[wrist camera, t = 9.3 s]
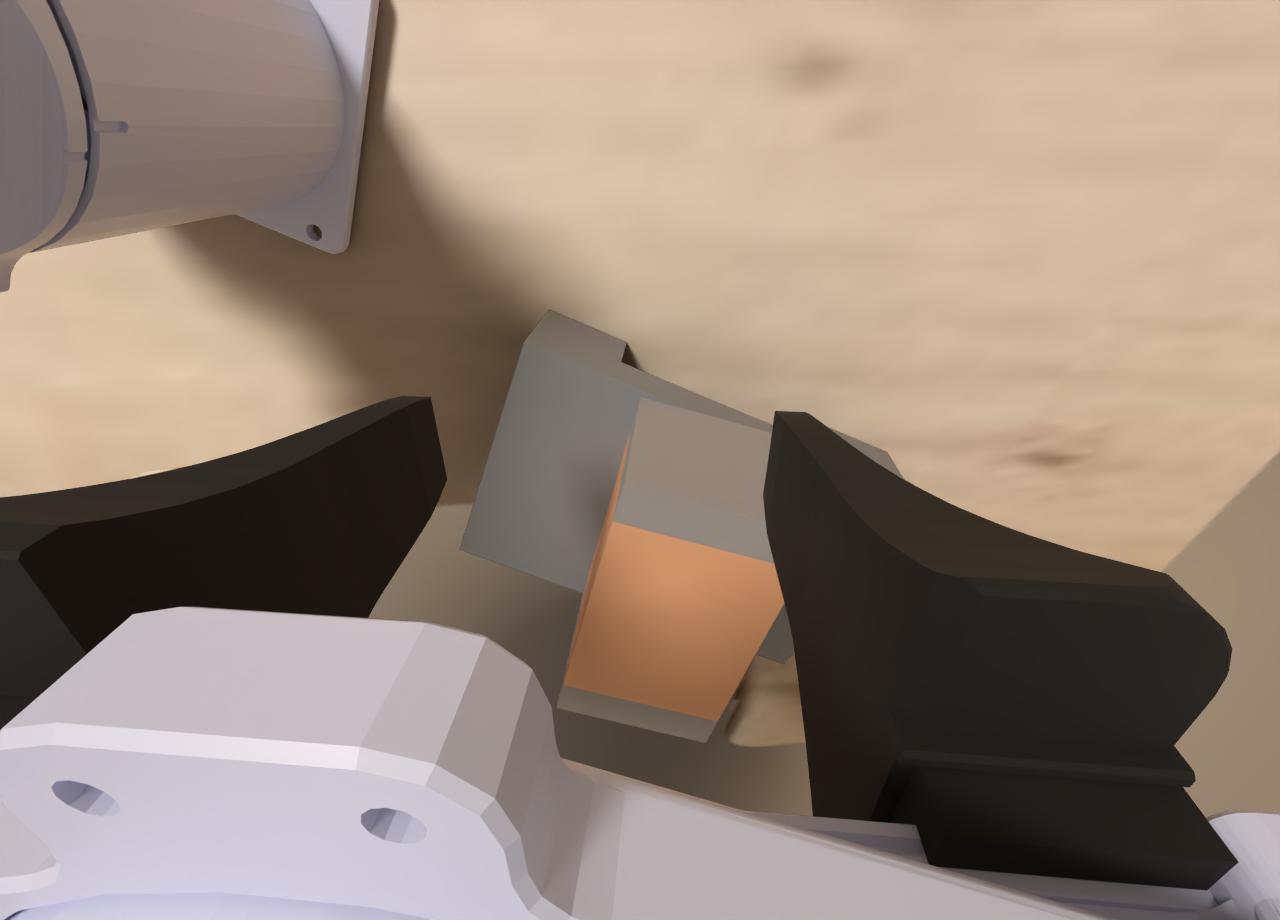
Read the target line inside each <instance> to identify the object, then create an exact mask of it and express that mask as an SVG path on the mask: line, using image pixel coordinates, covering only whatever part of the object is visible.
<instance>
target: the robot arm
mask: <svg viewBox="0 0 1280 920" xmlns="http://www.w3.org/2000/svg"><path fill="white" fill-rule="evenodd" d="M378 7H379V0H0V292H4V291H7V290H9V288H10V277H11V272H12V270H13V268H14V265H15V264H16V262H17V261H18V260H19V259H20V258H21V257H22V256H23V255H25V254H27V253H29V252H36V251H41V250H47V249H52V248H57V247H62V246H68V245H73V244H78V243H84V242H89V241H94V240H100V239H105V238H110V237H115V236H121V235H126V234H131V233H137V232H142V231H147V230H153V229H158V228H163V227H168V226H174V225H179V224H184V223H190V222H195V221H200V220H205V219H211V218H216V217H221V216H227V215H232V214H235V215H238V216H240V217H242V218H245V219H247V220H250V221H252V222H255V223H257V224H259V225H262V226H264V227H267V228H269V229H272V230H274V231H276V232H279V233H281V234H284V235H286V236H288V237H291V238H293V239H296V240H298V241H301V242H303V243H305V244H308V245H310V246H313V247H315V248H317V249H320V250H322V251H325V252H327V253H331V254H338V253H341V252H344V251H345V250H346V249H347V248H348V246H349V242H350V234H351V226H352V218H353V209H354V201H355V193H356V185H357V177H358V169H359V161H360V153H361V145H362V137H363V128H364V120H365V112H366V104H367V96H368V88H369V80H370V72H371V64H372V56H373V47H374V39H375V31H376V23H377V15H378ZM314 225H316V226H317V227H319V229H320V230H321V232H322V238H321V239H320V238H319V237H317V236H316V235H315V233H314V231H313V226H314ZM446 480H447V477H446V472H445V467H444V462H443V457H442V452H441V447H440V442H439V437H438V432H437V427H436V422H435V417H434V412H433V407H432V402H431V397H410V396H401V397H397V398H392V399H388V400H385V401H382V402H379V403H376V404H373V405H370V406H368V407H365V408H362V409H360V410H357V411H354V412H352V413H349V414H346V415H344V416H341V417H339V418H336V419H334V420H331V421H328V422H326V423H323V424H321V425H318V426H315V427H313V428H310V429H307V430H304V431H302V432H299V433H296V434H293V435H290V436H288V437H285V438H282V439H279V440H276V441H274V442H271V443H268V444H265V445H262V446H259V447H256V448H253V449H250V450H246V451H243V452H240V453H236V454H233V455H229V456H226V457H222V458H218V459H215V460H211V461H207V462H204V463H200V464H196V465H192V466H187V467H183V468H178V469H173V470H169V471H164V472H160V473H155V474H150V475H146V476H141V477H136V478H132V479H127V480H121V481H116V482H110V483H104V484H98V485H92V486H86V487H79V488H73V489H66V490H59V491H52V492H45V493H37V494H29V495H21V496H11V497H2V498H0V920H1280V812H1270V811H1257V810H1232V811H1231V810H1230V811H1225V812H1221V813H1218V814H1215V815H1211V816H1209V817H1208V818H1205V817H1204V815H1203V814H1202V812H1201V811H1200V810H1199V809H1198V807H1197V806H1196V804H1195V803H1194V802H1193V800H1192V799H1191V798H1190V796H1189V795H1188V794H1187V792H1186V791H1185V790H1184V788H1183V787H1190V786H1191V785H1192V784H1193V783H1194V782H1195V781H1196V780H1195V774H1194V771H1193V770H1192V768H1191V767H1190V766H1189V765H1188V763H1187V762H1186V761H1185V760H1184V758H1183V757H1182V756H1181V754H1180V753H1179V752H1178V750H1177V749H1176V748H1175V747H1174V745H1175V744H1176V742H1177V741H1178V740H1179V739H1180V737H1181V736H1182V735H1183V734H1184V733H1185V731H1186V730H1187V729H1188V728H1189V726H1190V725H1191V724H1192V723H1193V722H1194V721H1195V719H1196V718H1197V717H1198V716H1199V714H1200V713H1201V712H1202V711H1203V710H1204V708H1205V707H1206V706H1207V705H1208V704H1209V702H1210V701H1211V700H1212V699H1213V698H1214V696H1215V695H1216V693H1217V692H1218V690H1219V688H1220V687H1221V685H1222V683H1223V682H1224V680H1225V678H1226V677H1227V674H1228V671H1229V666H1230V660H1231V653H1232V647H1231V645H1230V642H1229V639H1228V636H1227V633H1226V631H1225V629H1224V628H1223V627H1222V626H1221V625H1220V624H1219V623H1218V622H1217V621H1216V620H1215V619H1214V618H1213V617H1212V616H1211V615H1210V614H1209V613H1208V612H1206V610H1205V609H1204V608H1202V607H1201V606H1200V605H1199V604H1198V603H1197V602H1196V601H1195V600H1194V599H1193V598H1192V597H1191V596H1190V595H1189V594H1188V593H1187V592H1186V591H1185V590H1183V588H1182V587H1181V586H1180V585H1178V583H1176V582H1175V580H1173V579H1172V578H1171V577H1170V576H1169V575H1167V574H1165V573H1161V572H1157V571H1154V570H1150V569H1146V568H1142V567H1138V566H1134V565H1130V564H1126V563H1123V562H1119V561H1115V560H1111V559H1107V558H1103V557H1099V556H1095V555H1092V554H1088V553H1084V552H1080V551H1077V550H1073V549H1070V548H1067V547H1064V546H1061V545H1058V544H1055V543H1051V542H1048V541H1045V540H1042V539H1039V538H1036V537H1033V536H1030V535H1027V534H1024V533H1021V532H1019V531H1016V530H1013V529H1010V528H1007V527H1005V526H1002V525H999V524H997V523H994V522H992V521H990V520H987V519H985V518H982V517H980V516H977V515H975V514H973V513H970V512H968V511H965V510H963V509H961V508H959V507H956V506H954V505H952V504H950V503H948V502H946V501H943V500H941V499H940V498H938V497H936V496H934V495H932V494H930V493H928V492H926V491H924V490H922V489H920V488H918V487H916V486H914V485H913V484H911V483H909V482H907V481H906V480H904V479H902V478H900V477H899V476H897V475H896V474H894V473H892V472H891V471H889V470H888V469H886V468H884V467H883V466H881V465H880V464H878V463H876V462H875V461H874V460H872V459H871V458H869V457H868V456H866V455H865V454H863V453H862V452H860V451H859V450H858V449H856V448H855V447H853V446H852V445H851V444H849V443H848V442H847V441H845V440H844V439H843V438H841V437H840V436H839V435H837V434H836V433H835V432H833V431H832V430H831V429H829V428H828V427H827V426H825V425H824V424H823V423H821V422H820V421H819V420H817V419H816V418H814V417H813V416H811V415H810V414H808V413H806V412H785V411H775V416H774V423H773V429H772V436H771V443H770V450H769V457H768V464H767V471H766V478H765V484H764V491H763V500H764V511H765V521H766V530H767V536H768V540H769V544H770V548H771V552H772V556H773V560H774V564H775V568H776V572H777V576H778V580H779V584H780V588H781V592H782V596H783V599H784V603H785V607H786V611H787V615H788V619H789V623H790V628H791V633H792V638H793V644H794V651H795V659H796V666H797V674H798V681H799V689H800V697H801V705H802V714H803V722H804V730H805V739H806V749H807V759H808V768H809V778H810V788H811V798H812V810H813V816H801V815H789V814H777V813H766V812H753V811H743V810H739V809H736V808H732V807H729V806H725V805H722V804H718V803H715V802H712V801H708V800H705V799H701V798H698V797H694V796H691V795H687V794H684V793H680V792H677V791H674V790H670V789H667V788H663V787H660V786H656V785H653V784H650V783H646V782H643V781H639V780H635V779H632V778H629V777H625V776H622V775H619V774H615V773H612V772H608V771H605V770H601V769H598V768H594V767H591V766H587V765H584V764H580V763H577V762H573V761H570V760H567V759H562V758H560V755H559V752H558V749H557V746H556V741H555V732H554V724H553V715H552V707H551V705H550V703H549V701H548V699H547V697H546V695H545V693H544V691H543V689H542V687H541V685H540V684H539V681H538V679H537V678H536V676H535V674H534V672H533V670H532V669H531V668H530V667H529V666H528V665H527V664H526V663H524V662H523V661H522V660H520V659H519V658H517V657H516V656H514V655H513V654H512V653H510V652H509V651H507V650H506V649H504V648H503V647H501V646H500V645H498V644H497V643H496V642H494V641H493V640H491V639H490V638H488V637H487V636H485V635H481V634H477V633H473V632H469V631H465V630H461V629H457V628H453V627H449V626H445V625H441V624H437V623H433V622H419V621H403V620H389V619H373V618H368V617H369V615H370V613H371V611H372V610H373V608H374V606H375V604H376V602H377V601H378V599H379V597H380V596H381V594H382V592H383V591H384V589H385V588H386V586H387V585H388V583H389V582H390V580H391V578H392V577H393V576H394V574H395V572H396V571H397V569H398V568H399V566H400V565H401V563H402V561H403V560H404V558H405V557H406V555H407V554H408V552H409V551H410V549H411V548H412V546H413V545H414V543H415V541H416V540H417V538H418V537H419V535H420V533H421V532H422V530H423V529H424V527H425V526H426V524H427V522H428V521H429V519H430V517H431V516H432V513H433V511H434V509H435V507H436V505H437V502H438V500H439V498H440V495H441V493H442V490H443V488H444V485H445V483H446Z"/></svg>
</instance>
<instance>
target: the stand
mask: <svg viewBox="0 0 1280 920" xmlns="http://www.w3.org/2000/svg"><path fill="white" fill-rule="evenodd" d="M626 343H627V342H625V341H622V340H620V339H618V338H615V337H613V336H610V335H608V334H606V333H603V332H601V331H599V330H596V329H594V328H591V327H589V326H587V325H584V324H582V323H580V322H577V321H575V320H573V319H570V318H568V317H565V316H563V315H561V314H558V313H556V312H554V311H551V310H548V312H547V313H546V314H545V315H544V317H543V318H542V319H541V321H540V322H539V323H538V324H537V326H536V327H535V328H534V330H533V331H532V332H531V333H530V335H529V336H528V337H527V339H526V340H525V341H524V344H523V347H522V350H521V353H520V357H519V360H518V363H517V366H516V369H515V373H514V376H513V379H512V382H511V385H510V389H509V392H508V395H507V398H506V402H505V405H504V408H503V411H502V414H501V418H500V421H499V424H498V427H497V430H496V434H495V437H494V440H493V443H492V446H491V450H490V453H489V456H488V459H487V463H486V466H485V469H484V472H483V475H482V479H481V482H480V485H479V488H478V491H477V495H476V498H475V501H474V504H473V508H472V511H471V514H470V517H469V520H468V524H467V527H466V530H465V533H464V536H463V540H462V543H461V546H460V550H462V551H465V552H468V553H470V554H473V555H476V556H479V557H482V558H485V559H488V560H490V561H493V562H496V563H499V564H502V565H505V566H507V567H510V568H513V569H516V570H519V571H522V572H524V573H527V574H530V575H533V576H536V577H539V578H541V579H544V580H547V581H550V582H553V583H555V584H558V585H561V586H564V587H567V588H569V589H572V590H575V591H578V592H581V593H583V591H584V588H585V585H586V581H587V578H588V574H589V571H590V567H591V564H592V561H593V557H594V554H595V550H596V547H597V544H598V540H599V537H600V533H601V530H602V526H603V523H604V520H605V516H606V513H607V509H608V506H609V502H610V499H611V496H612V492H613V489H614V485H615V482H616V479H617V475H618V472H619V468H620V465H621V461H622V458H623V455H624V451H625V448H626V444H627V441H628V437H629V434H630V431H631V427H632V424H633V420H634V417H635V414H636V410H637V407H638V403H639V400H640V397H644V398H647V399H651V400H654V401H658V402H662V403H665V404H669V405H672V406H676V407H680V408H683V409H687V410H691V411H694V412H698V413H701V414H705V415H709V416H712V417H716V418H719V419H723V420H727V421H730V422H734V423H738V424H741V425H745V426H748V427H752V428H756V429H759V430H763V431H766V432H770V433H772V429H773V425H771V424H768V423H766V422H764V421H761V420H759V419H756V418H754V417H752V416H749V415H747V414H744V413H742V412H740V411H737V410H735V409H732V408H730V407H728V406H725V405H723V404H720V403H718V402H716V401H713V400H711V399H708V398H706V397H704V396H701V395H699V394H696V393H694V392H692V391H689V390H687V389H684V388H682V387H680V386H677V385H675V384H672V383H670V382H668V381H665V380H663V379H660V378H658V377H656V376H653V375H651V374H648V373H646V372H644V371H641V370H639V369H636V368H634V367H632V366H629V365H627V364H624V363H622V362H621V360H622V357H623V354H624V350H625V347H626ZM829 429H831V428H829ZM831 430H832V431H833V432H835V433H836V434H837V435H839V436H840V437H841V438H843V439H844V440H845V441H847V442H848V443H849V444H851V445H852V446H853V447H855V448H856V449H858V450H859V451H860V452H862V453H863V454H865V455H866V456H868V457H869V458H871V459H872V460H874V461H875V462H876V463H878V464H880V465H881V466H883V467H884V468H886V469H888V470H889V471H891V472H892V473H894V474H896V475H897V476H899V477H900V478H902V479H903V477H902V475H901V474H900V472H899V471H898V469H897V467H896V466H895V464H894V462H893V461H892V459H891V457H890V456H889V454H888V452H885V451H883V450H880V449H878V448H876V447H873V446H871V445H869V444H866V443H864V442H861V441H859V440H857V439H854V438H852V437H850V436H847V435H845V434H843V433H840V432H838V431H835V430H833V429H831ZM793 653H794V644H793V638H792V633H791V628H790V623H789V619H788V615H787V611H786V607H785V603H784V604H783V606H782V608H781V610H780V612H779V613H778V615H777V617H776V619H775V620H774V622H773V624H772V626H771V628H770V629H769V631H768V633H767V635H766V637H765V638H764V640H763V642H762V644H761V645H760V647H759V649H758V651H757V653H756V655H759V656H762V657H765V658H767V659H770V660H773V661H776V662H779V663H782V664H784V663H785V662H786V661H787V660H788V659H789V657H790V656H791V655H792V654H793Z"/></svg>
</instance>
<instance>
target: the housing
mask: <svg viewBox="0 0 1280 920" xmlns="http://www.w3.org/2000/svg"><path fill="white" fill-rule="evenodd" d="M771 436H772V433H770V432H766V431H763V430H759V429H756V428H752V427H748V426H745V425H741V424H738V423H734V422H730V421H727V420H723V419H719V418H716V417H712V416H709V415H705V414H701V413H698V412H694V411H691V410H687V409H683V408H680V407H676V406H672V405H669V404H665V403H662V402H658V401H654V400H651V399H647V398H644V397H640V400H639V403H638V407H637V410H636V414H635V417H634V420H633V424H632V427H631V431H630V434H629V437H628V441H627V444H626V448H625V451H624V455H623V458H622V461H621V465H620V468H619V472H618V475H617V479H616V482H615V485H614V489H613V492H612V496H611V499H610V502H609V506H608V509H607V513H606V516H605V520H604V523H603V526H602V530H601V533H600V537H599V540H598V544H597V547H596V550H595V554H594V557H593V561H592V564H591V567H590V571H589V574H588V578H587V581H586V585H585V588H584V591H583V595H582V599H581V603H580V608H579V612H578V616H577V621H576V625H575V629H574V634H573V638H572V642H571V647H570V651H569V655H568V660H567V664H566V668H565V673H564V677H563V682H562V686H561V690H560V695H559V699H558V703H557V708H559V709H563V710H568V711H572V712H576V713H580V714H584V715H589V716H593V717H597V718H602V719H606V720H610V721H614V722H618V723H623V724H627V725H631V726H635V727H640V728H644V729H649V730H652V731H657V732H661V733H665V734H669V735H674V736H678V737H683V738H687V739H691V740H695V741H699V742H704V743H706V741H707V740H708V738H709V736H710V734H711V733H712V731H713V729H714V727H715V725H716V724H717V722H718V720H719V718H720V717H721V715H722V713H723V711H724V709H725V708H726V706H727V704H728V702H729V701H730V699H731V697H732V695H733V693H734V692H735V690H736V688H737V686H738V685H739V683H740V681H741V679H742V677H743V676H744V674H745V672H746V670H747V669H748V667H749V665H750V663H751V661H752V660H753V658H754V656H755V654H756V653H757V651H758V649H759V647H760V645H761V644H762V642H763V640H764V638H765V637H766V635H767V633H768V631H769V629H770V628H771V626H772V624H773V622H774V620H775V619H776V617H777V615H778V613H779V612H780V610H781V608H782V606H783V604H784V599H783V596H782V592H781V588H780V584H779V580H778V576H777V572H776V568H775V564H774V560H773V556H772V552H771V548H770V544H769V540H768V536H767V530H766V521H765V511H764V500H763V491H764V484H765V478H766V471H767V464H768V457H769V450H770V443H771Z"/></svg>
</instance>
